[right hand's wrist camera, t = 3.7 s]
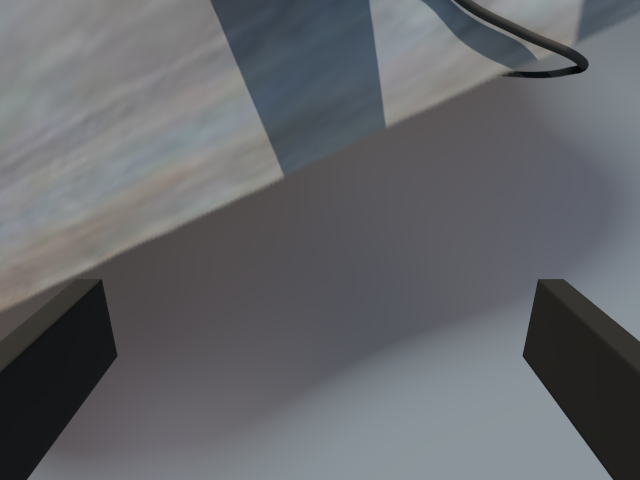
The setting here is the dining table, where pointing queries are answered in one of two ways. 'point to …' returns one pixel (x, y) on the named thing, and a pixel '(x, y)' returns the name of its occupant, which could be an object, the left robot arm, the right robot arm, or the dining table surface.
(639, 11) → the dining table surface
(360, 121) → the dining table surface
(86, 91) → the dining table surface
